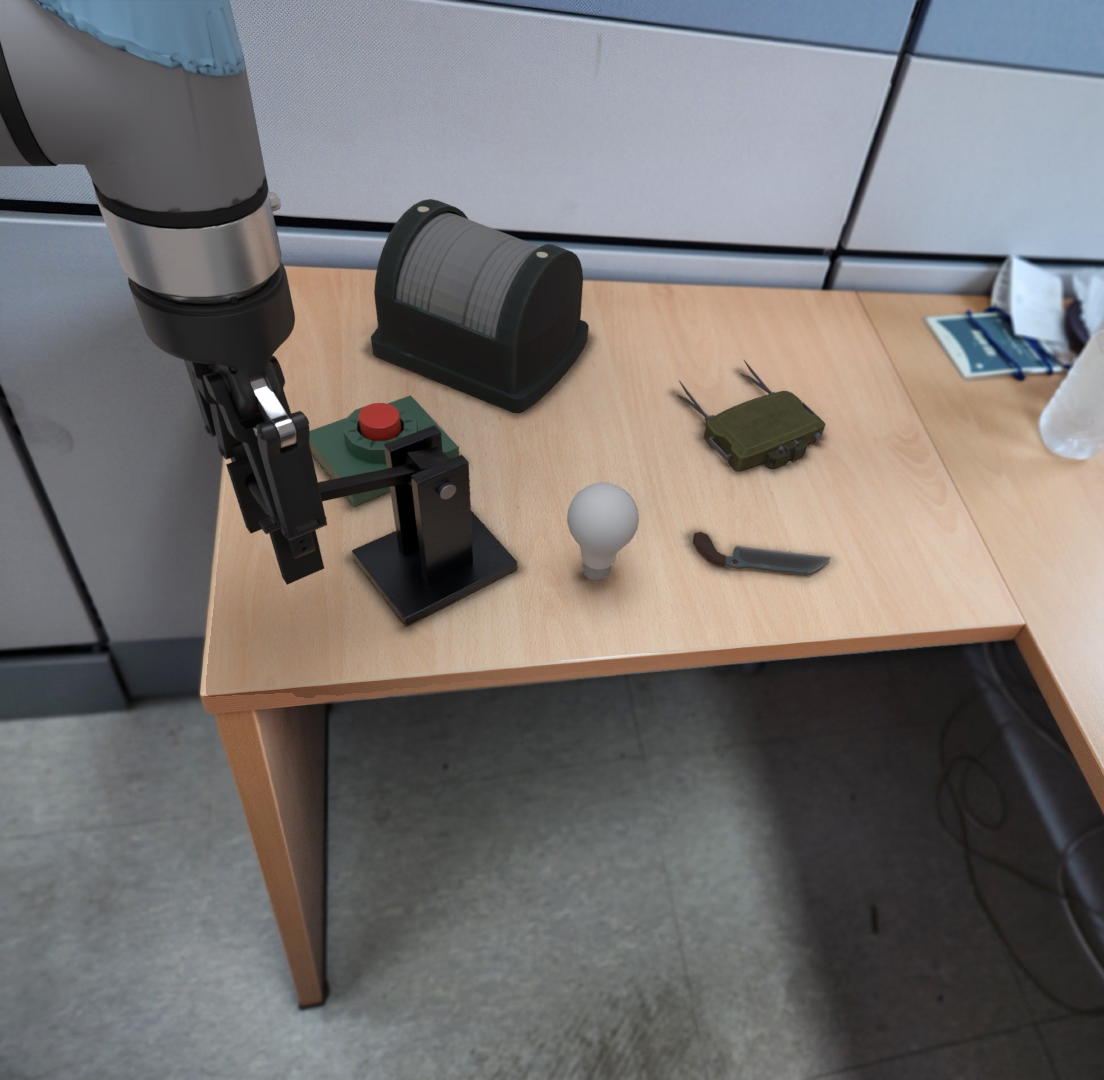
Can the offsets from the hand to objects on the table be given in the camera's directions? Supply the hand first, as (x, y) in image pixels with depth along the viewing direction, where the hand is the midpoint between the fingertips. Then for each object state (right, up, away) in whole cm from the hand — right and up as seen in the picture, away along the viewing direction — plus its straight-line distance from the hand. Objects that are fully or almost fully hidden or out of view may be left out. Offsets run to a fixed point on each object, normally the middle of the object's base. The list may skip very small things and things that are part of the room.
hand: (284, 547), depth 62 cm
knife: (+36, -1, +22) cm, 42 cm away
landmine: (+35, +14, +35) cm, 52 cm away
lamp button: (0, +11, +18) cm, 22 cm away
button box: (-1, +9, +21) cm, 23 cm away
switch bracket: (+7, -2, +14) cm, 15 cm away
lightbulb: (+20, -3, +17) cm, 26 cm away
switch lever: (+5, +4, +2) cm, 6 cm away
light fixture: (+5, +23, +35) cm, 42 cm away
